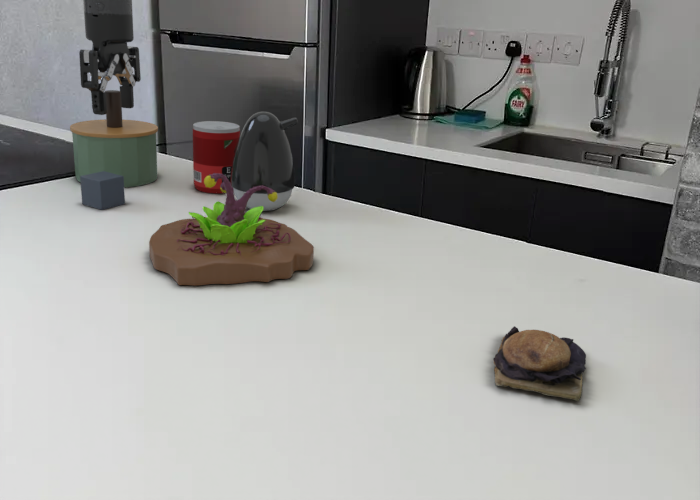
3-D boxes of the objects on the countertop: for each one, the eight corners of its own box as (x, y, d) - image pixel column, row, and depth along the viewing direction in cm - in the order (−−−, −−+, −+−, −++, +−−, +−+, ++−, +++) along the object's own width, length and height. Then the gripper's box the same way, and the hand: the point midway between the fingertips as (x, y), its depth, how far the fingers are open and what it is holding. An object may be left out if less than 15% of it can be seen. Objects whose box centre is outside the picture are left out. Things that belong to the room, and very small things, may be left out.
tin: (89, 190, 112) (85, 139, 109) (67, 172, 122) (63, 124, 119) (168, 183, 120) (167, 134, 117) (141, 166, 130) (139, 121, 127)
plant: (135, 239, 92) (131, 157, 88) (271, 226, 101) (273, 151, 97) (170, 296, 75) (168, 199, 72) (329, 275, 84) (334, 187, 80)
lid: (84, 144, 109) (81, 98, 106) (60, 128, 120) (57, 86, 117) (170, 138, 117) (169, 96, 115) (141, 124, 128) (139, 85, 125)
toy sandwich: (584, 407, 60) (592, 370, 58) (487, 386, 62) (493, 350, 60) (583, 352, 69) (590, 319, 68) (499, 336, 71) (504, 304, 70)
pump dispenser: (300, 215, 107) (304, 118, 102) (233, 216, 104) (233, 116, 99) (289, 197, 116) (292, 107, 111) (227, 198, 113) (227, 105, 108)
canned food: (231, 196, 115) (231, 130, 111) (186, 191, 116) (184, 126, 112) (245, 185, 122) (246, 123, 118) (203, 180, 123) (202, 119, 119)
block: (101, 210, 103) (99, 181, 101) (81, 204, 105) (79, 175, 104) (125, 204, 107) (123, 176, 105) (105, 198, 109) (103, 170, 107)
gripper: (112, 9, 119) (117, 104, 124) (60, 9, 106) (69, 114, 111) (151, 12, 117) (155, 108, 123) (103, 12, 104) (109, 119, 110)
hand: (114, 111), depth 117 cm, fingers open, 8 cm apart
